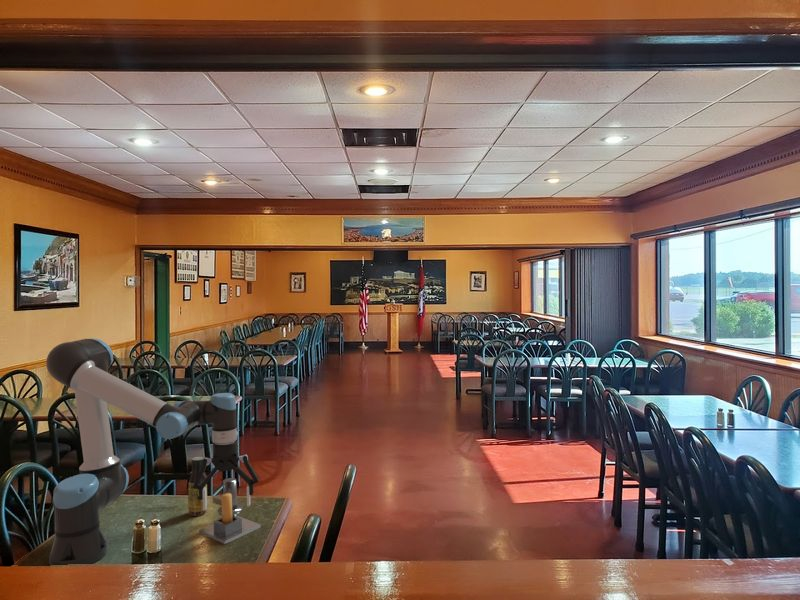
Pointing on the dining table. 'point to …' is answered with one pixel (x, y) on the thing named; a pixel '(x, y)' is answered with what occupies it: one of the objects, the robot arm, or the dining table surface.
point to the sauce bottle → (193, 494)
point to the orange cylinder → (226, 508)
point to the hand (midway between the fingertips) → (227, 506)
